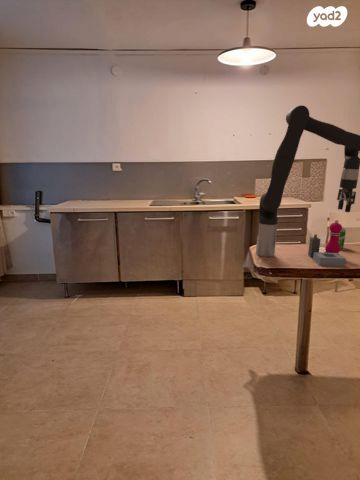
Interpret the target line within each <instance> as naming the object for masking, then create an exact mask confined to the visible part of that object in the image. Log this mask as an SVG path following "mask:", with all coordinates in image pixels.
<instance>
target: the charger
mask: <svg viewBox="0 0 360 480" xmlns="http://www.w3.org/2000/svg"><path fill="white" fill-rule="evenodd" d="M313 235H314V236H311V237H309V243H308V244H309V245H308V250H307V251H308V252H307V256H308V257H309V258H312V259H313V256H314V252H320V247H321V238H319V237H318V234H316V233H315V234H313Z"/></svg>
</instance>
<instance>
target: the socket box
mask: <svg viewBox="0 0 360 480" xmlns="http://www.w3.org/2000/svg"><path fill="white" fill-rule="evenodd" d="M312 260H313V261H314V262H315V263H316V264H317V265H318V266H322V267H323V266H327V267H345V266H346V261H347V258H345V257H344V256H343V255H342V254H340V252H339V253H326V252H320V251H319V252H314V256H313V258H312Z"/></svg>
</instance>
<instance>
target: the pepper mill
mask: <svg viewBox="0 0 360 480" xmlns="http://www.w3.org/2000/svg"><path fill="white" fill-rule="evenodd" d="M342 227H343V226H342V224H340V223H339V219H336V220H334V222H333V223H331V224H330V225H329V240H328V242H327V243H326V244H325V248H324V250H325V251H326V252H325V253H339V254H340V252H341V249H340V245H339V242H338V238H339V236H340V231H341V230H342Z"/></svg>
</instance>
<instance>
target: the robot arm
mask: <svg viewBox="0 0 360 480" xmlns="http://www.w3.org/2000/svg"><path fill="white" fill-rule="evenodd" d="M285 121H286V124H287V125H288V126H287V129H286V131H285V135H284V137H283V139H282V141H281V142H280V144H279V146H278V148H277V151H276V153H275V156H274V159H273V163H272V167H271V168H272V169H271V172H270V173H271V175H270V176H271V177H270V183H269V185H268V188H267V191H266V192H265V193H263V194H262V195H261V197H260V199H259V210H258V217H259V219H258V235H257V236H256V249H255V254H256V255H257V256H258V257H262V258H263V257H264V258H272V257H275V254H276V253H275V252H276V242H277V241H276V240H277V232H278V231H277V230H278V223H279V222H278V221H279V220H278V209H279V208H280V206H281V204H282V200H283V194H284V189H285V186H286V183H287V180H288V178H289V176H290V173H291V170H292V168H293V165H294V162H295V158H296V155H297V152H298V148H299V145H300V142H301V137H302V136H303V134H304V131H306V132H309V133H311V134H314V135H316V136H318V137H320V138H322V139H325V140H327V141H329V142H331V143H333V144H336V145H339V146H343V147H344V151H343V153H344V163H343V168H342V172H341V177H340V180H339V181H340V182H339V189H338V194H337V198H336V200H337V201H338V206H337V209H338V210H343V208H344V205H345V209H344V212H346V213H350V212H351V208H352V205H354V204H355V202H356V195H357V192H356V191H354V190H356V189H357V185H358V181H359V175H360V157H359V152H360V134H358V133H354V132H351V131H347V130H346V129H343V128H341V127H339V126H336V125H334V124H333V123H329V122H325V121H321V120H318V119H315V118H313V117H312V116H310V111H309V109H308V107H307V106H306V105H296V106H295V107H293V108H291V109H290V110H289V111H288V112H287V113H286V115H285ZM340 188H341V189H340ZM344 202H345V203H346V204H344Z"/></svg>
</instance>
